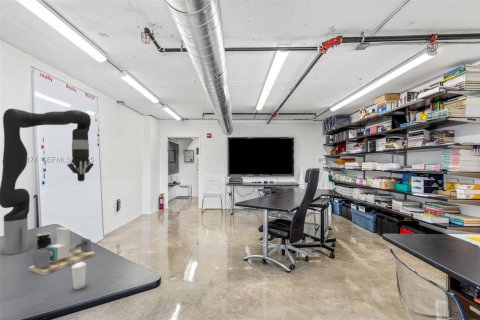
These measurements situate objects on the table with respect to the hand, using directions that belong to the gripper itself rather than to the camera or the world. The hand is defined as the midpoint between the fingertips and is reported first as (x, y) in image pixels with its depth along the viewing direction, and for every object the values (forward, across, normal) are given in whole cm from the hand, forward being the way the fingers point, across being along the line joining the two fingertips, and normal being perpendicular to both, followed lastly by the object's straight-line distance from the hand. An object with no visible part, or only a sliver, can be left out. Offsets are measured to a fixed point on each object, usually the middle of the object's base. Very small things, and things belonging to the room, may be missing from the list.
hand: (81, 181), depth 125 cm
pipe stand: (+37, +13, +7) cm, 40 cm away
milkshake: (+37, +25, +36) cm, 57 cm away
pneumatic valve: (+37, +11, -13) cm, 41 cm away
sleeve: (+34, +15, +7) cm, 38 cm away
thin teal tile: (+34, +18, +7) cm, 39 cm away
